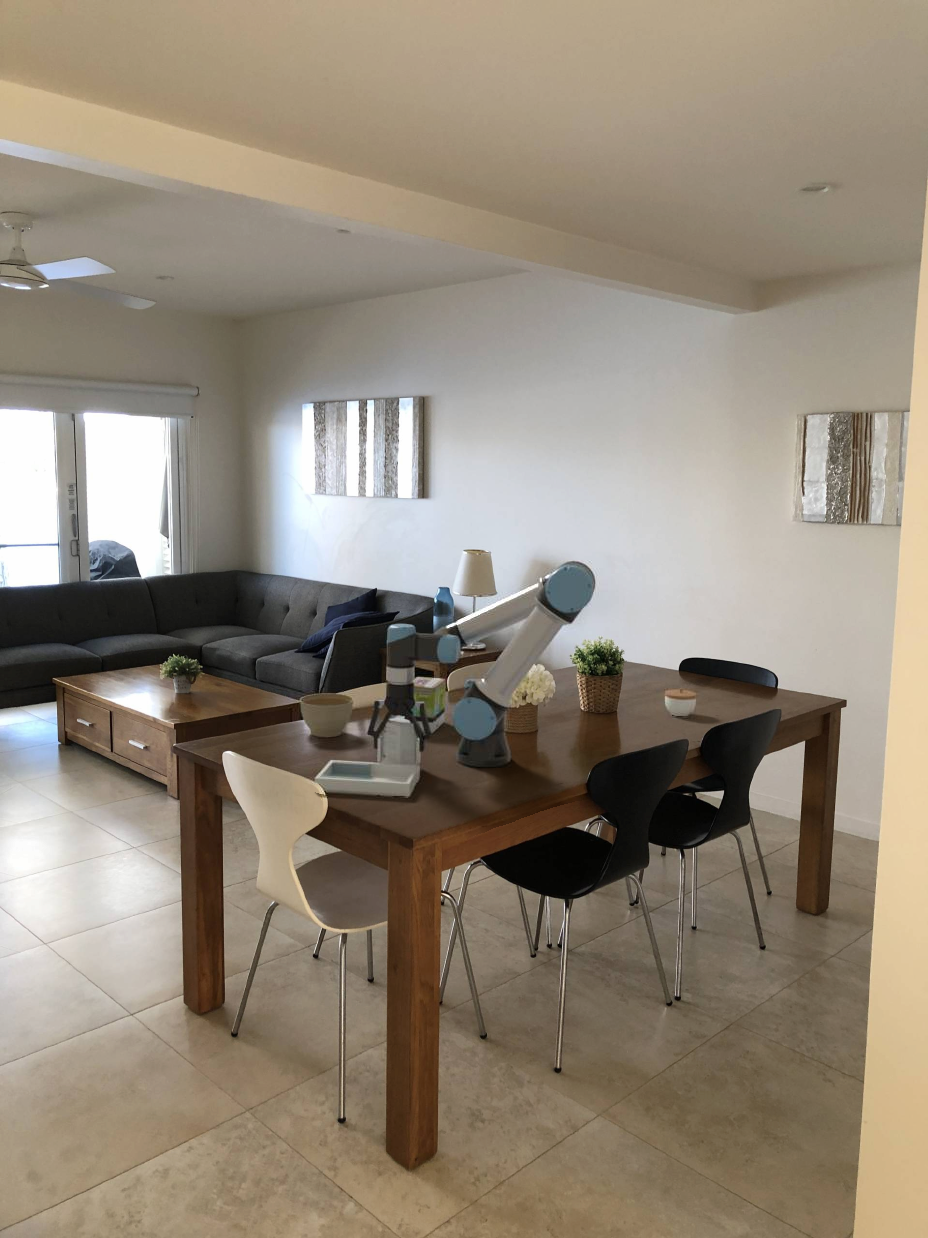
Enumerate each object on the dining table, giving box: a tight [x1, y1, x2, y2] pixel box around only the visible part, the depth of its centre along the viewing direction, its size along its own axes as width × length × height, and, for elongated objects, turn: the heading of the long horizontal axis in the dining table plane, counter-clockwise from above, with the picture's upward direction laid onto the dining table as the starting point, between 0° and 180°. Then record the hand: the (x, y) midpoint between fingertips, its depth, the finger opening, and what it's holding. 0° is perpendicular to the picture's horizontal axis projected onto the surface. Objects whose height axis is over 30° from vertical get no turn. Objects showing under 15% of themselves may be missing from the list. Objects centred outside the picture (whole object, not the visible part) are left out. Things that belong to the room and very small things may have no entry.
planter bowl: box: [299, 692, 354, 738], centre depth 300 cm, size 16×16×11 cm
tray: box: [314, 759, 421, 798], centre depth 253 cm, size 24×16×4 cm, turn 83°
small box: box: [380, 716, 418, 765], centre depth 268 cm, size 8×6×13 cm
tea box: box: [403, 676, 447, 734], centre depth 312 cm, size 15×10×15 cm, turn 168°
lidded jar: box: [664, 687, 698, 717], centre depth 336 cm, size 11×11×9 cm
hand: (398, 761), depth 268 cm, fingers closed on small box, 10 cm apart
